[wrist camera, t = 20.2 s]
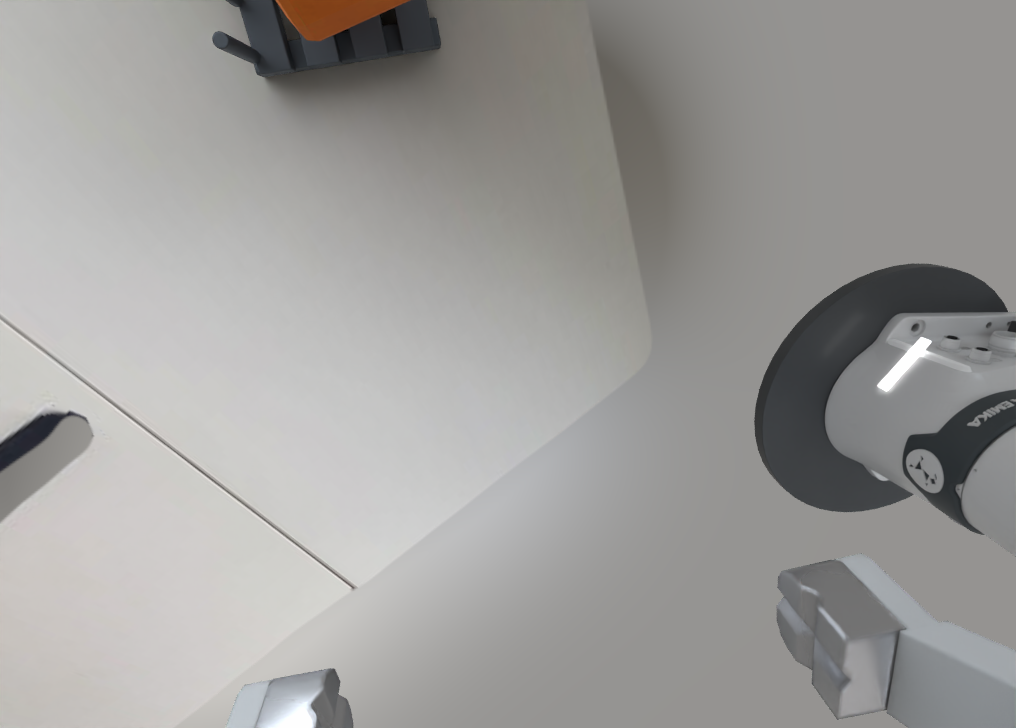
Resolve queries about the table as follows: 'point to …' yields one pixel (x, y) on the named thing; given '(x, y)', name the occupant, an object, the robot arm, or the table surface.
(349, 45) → the rack
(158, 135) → the table surface
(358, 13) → the alarm clock
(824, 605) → the robot arm
